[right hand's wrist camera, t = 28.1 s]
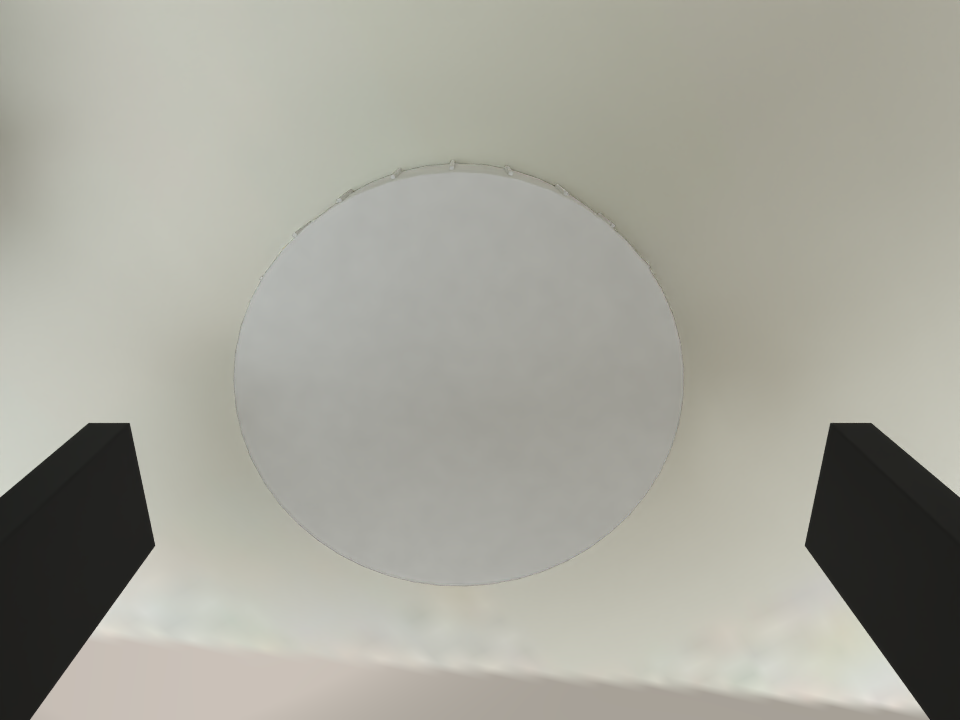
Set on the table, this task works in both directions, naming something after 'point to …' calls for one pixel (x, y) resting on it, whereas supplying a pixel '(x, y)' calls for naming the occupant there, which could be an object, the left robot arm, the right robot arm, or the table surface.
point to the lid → (458, 376)
